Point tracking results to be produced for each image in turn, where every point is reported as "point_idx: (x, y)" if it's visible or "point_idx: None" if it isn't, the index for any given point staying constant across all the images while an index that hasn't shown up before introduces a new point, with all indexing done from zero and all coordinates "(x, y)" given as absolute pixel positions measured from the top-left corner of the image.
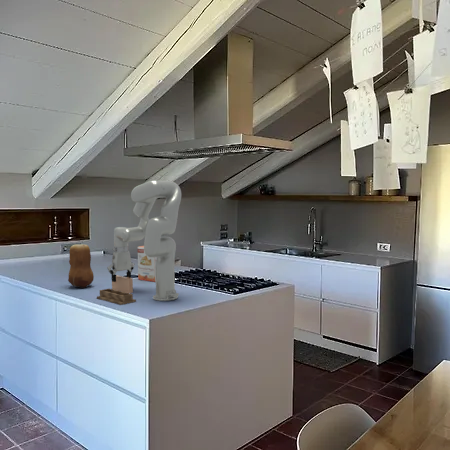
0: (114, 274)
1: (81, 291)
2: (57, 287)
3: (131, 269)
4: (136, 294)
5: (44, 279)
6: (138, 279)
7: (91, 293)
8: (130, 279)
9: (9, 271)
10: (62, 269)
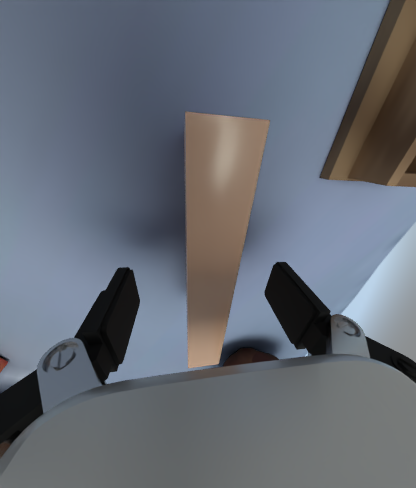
0: (335, 318)
1: None
2: None
3: (28, 395)
4: (212, 11)
5: None
6: (7, 361)
7: (308, 279)
8: (229, 119)
9: None
10: None
